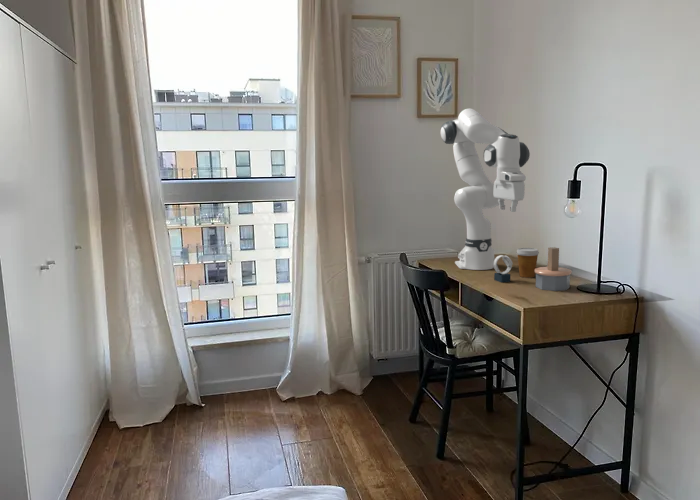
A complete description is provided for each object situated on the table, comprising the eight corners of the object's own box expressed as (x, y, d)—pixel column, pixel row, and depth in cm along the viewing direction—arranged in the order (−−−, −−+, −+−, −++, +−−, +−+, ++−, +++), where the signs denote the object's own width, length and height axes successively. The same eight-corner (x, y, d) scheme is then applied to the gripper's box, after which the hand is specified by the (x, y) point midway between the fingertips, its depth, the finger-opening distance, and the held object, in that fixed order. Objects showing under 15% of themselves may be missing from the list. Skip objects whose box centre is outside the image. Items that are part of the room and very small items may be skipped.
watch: (514, 281, 241) (514, 255, 239) (497, 283, 238) (498, 257, 237) (506, 278, 246) (507, 253, 244) (490, 280, 244) (490, 255, 242)
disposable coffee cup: (542, 277, 246) (543, 250, 244) (522, 279, 244) (523, 251, 242) (531, 273, 255) (531, 247, 253) (511, 274, 253) (512, 248, 251)
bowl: (531, 284, 233) (531, 270, 232) (558, 282, 235) (558, 268, 234) (546, 291, 221) (547, 276, 220) (574, 289, 223) (575, 274, 222)
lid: (528, 270, 233) (528, 246, 231) (559, 268, 235) (560, 244, 234) (545, 277, 219) (546, 251, 217) (578, 274, 222) (579, 249, 220)
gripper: (489, 175, 234) (489, 208, 236) (512, 176, 214) (511, 213, 217) (503, 174, 235) (503, 208, 238) (527, 176, 215) (527, 212, 218)
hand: (507, 210), depth 227 cm, fingers open, 8 cm apart
